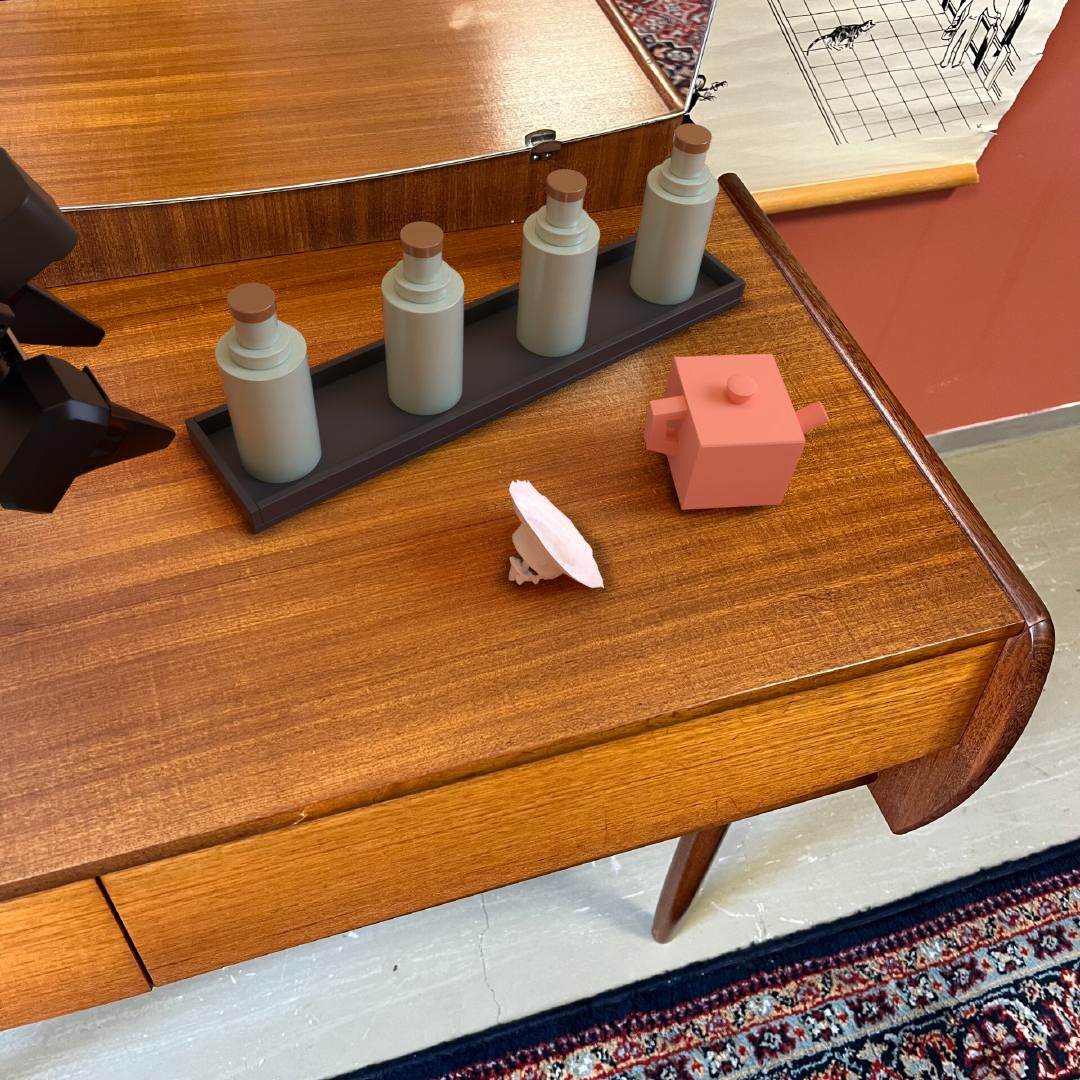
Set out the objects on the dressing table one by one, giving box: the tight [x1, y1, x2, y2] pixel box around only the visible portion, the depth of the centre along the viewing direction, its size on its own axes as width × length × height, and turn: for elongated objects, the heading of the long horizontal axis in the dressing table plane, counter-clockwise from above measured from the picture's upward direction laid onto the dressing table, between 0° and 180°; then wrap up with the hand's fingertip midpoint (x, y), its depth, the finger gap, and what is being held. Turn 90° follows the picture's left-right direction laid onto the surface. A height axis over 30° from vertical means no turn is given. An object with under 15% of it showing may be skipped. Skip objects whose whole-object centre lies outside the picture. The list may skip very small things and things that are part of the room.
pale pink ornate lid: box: [508, 479, 605, 589], centre depth 61 cm, size 8×5×8 cm
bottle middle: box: [516, 168, 601, 357], centre depth 70 cm, size 5×5×13 cm
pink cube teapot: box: [643, 353, 830, 511], centre depth 65 cm, size 8×12×8 cm, turn 97°
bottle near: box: [380, 221, 465, 415], centre depth 66 cm, size 5×5×13 cm
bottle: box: [214, 282, 321, 483], centre depth 61 cm, size 5×5×13 cm
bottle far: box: [629, 123, 720, 305], centre depth 74 cm, size 5×5×13 cm
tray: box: [184, 233, 747, 534], centre depth 72 cm, size 42×9×2 cm, turn 127°
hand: (134, 386), depth 55 cm, fingers open, 9 cm apart
